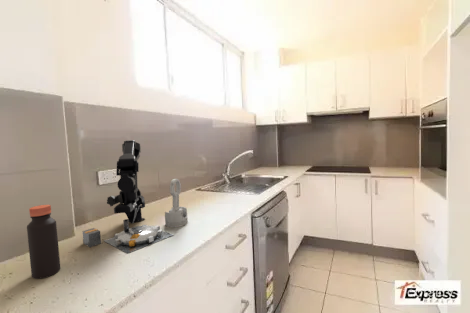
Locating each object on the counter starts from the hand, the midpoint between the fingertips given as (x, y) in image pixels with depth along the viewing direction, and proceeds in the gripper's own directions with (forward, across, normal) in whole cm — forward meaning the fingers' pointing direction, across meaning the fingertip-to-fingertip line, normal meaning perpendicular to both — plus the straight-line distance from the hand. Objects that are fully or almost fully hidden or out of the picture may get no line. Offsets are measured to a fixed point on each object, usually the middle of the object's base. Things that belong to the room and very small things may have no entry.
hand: (131, 223), depth 103 cm
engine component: (+4, -8, +18) cm, 20 cm away
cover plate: (+4, +8, +6) cm, 10 cm away
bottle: (+4, +31, -14) cm, 34 cm away
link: (+4, +10, -12) cm, 16 cm away
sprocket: (+4, +8, +6) cm, 10 cm away
